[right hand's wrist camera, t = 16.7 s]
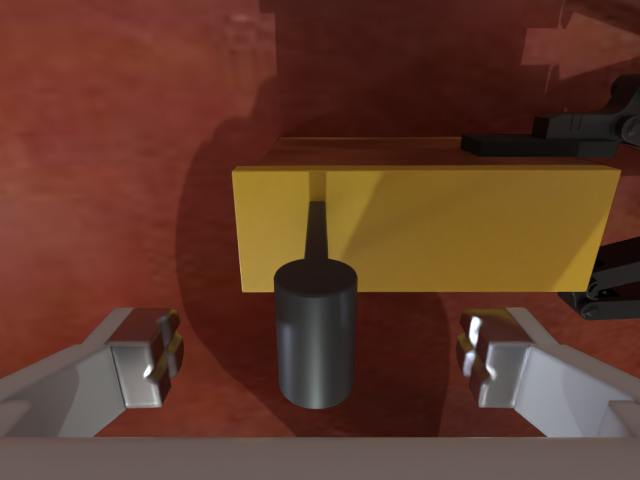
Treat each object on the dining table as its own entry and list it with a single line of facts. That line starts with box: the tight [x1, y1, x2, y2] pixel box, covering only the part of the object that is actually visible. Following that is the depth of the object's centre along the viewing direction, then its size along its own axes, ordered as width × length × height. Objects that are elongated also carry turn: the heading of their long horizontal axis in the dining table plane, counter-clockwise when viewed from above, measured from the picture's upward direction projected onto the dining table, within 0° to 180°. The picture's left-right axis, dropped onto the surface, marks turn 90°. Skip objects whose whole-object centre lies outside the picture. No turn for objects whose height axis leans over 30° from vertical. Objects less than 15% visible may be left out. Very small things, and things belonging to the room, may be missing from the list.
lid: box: [232, 165, 621, 409], centre depth 14 cm, size 16×6×9 cm, turn 90°
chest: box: [259, 137, 602, 166], centre depth 22 cm, size 15×6×9 cm, turn 90°
